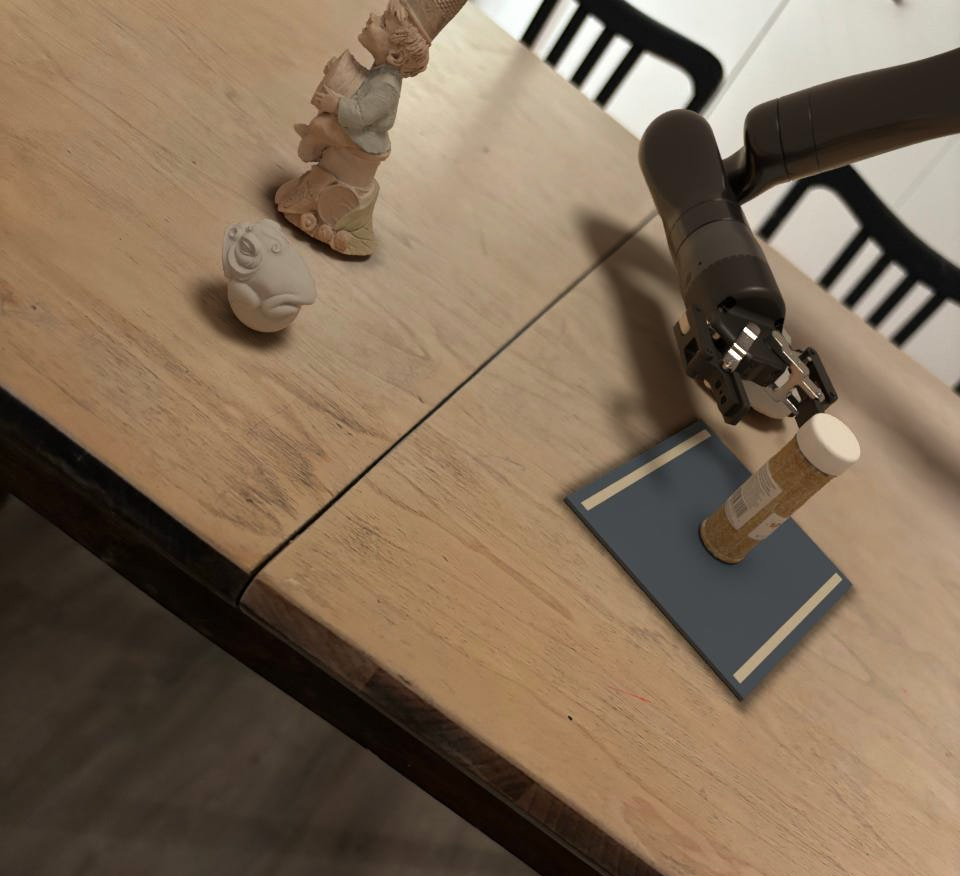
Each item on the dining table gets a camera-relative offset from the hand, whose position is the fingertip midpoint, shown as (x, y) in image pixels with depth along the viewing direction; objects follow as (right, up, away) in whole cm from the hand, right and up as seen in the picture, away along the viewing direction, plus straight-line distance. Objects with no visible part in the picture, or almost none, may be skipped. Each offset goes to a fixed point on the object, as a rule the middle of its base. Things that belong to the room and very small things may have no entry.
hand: (781, 431), depth 76 cm
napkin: (-4, -8, +5) cm, 10 cm away
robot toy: (+3, +10, +22) cm, 24 cm away
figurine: (-36, +17, +3) cm, 40 cm away
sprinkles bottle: (-4, -8, +5) cm, 10 cm away
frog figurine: (-39, +6, -7) cm, 40 cm away
